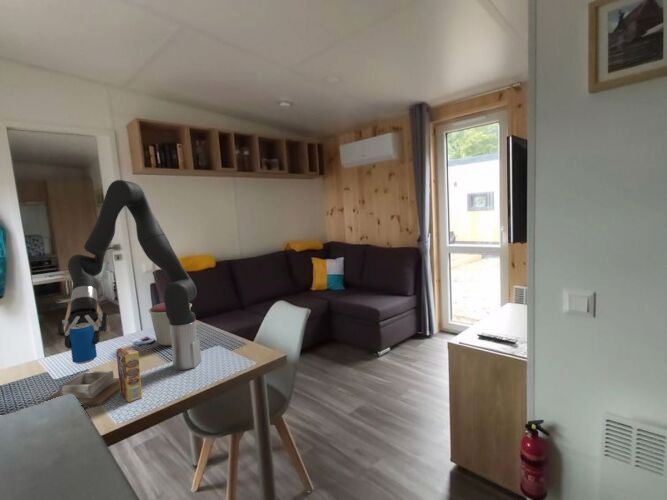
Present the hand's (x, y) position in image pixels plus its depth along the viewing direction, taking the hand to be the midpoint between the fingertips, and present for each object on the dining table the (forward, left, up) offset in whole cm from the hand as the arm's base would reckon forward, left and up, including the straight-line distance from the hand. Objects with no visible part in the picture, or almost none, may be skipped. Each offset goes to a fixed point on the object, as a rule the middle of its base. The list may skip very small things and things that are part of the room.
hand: (82, 345), depth 110 cm
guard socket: (+1, -1, -17) cm, 17 cm away
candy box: (-15, +1, -17) cm, 23 cm away
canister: (-5, -47, -17) cm, 50 cm away
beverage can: (+1, -1, -6) cm, 6 cm away
